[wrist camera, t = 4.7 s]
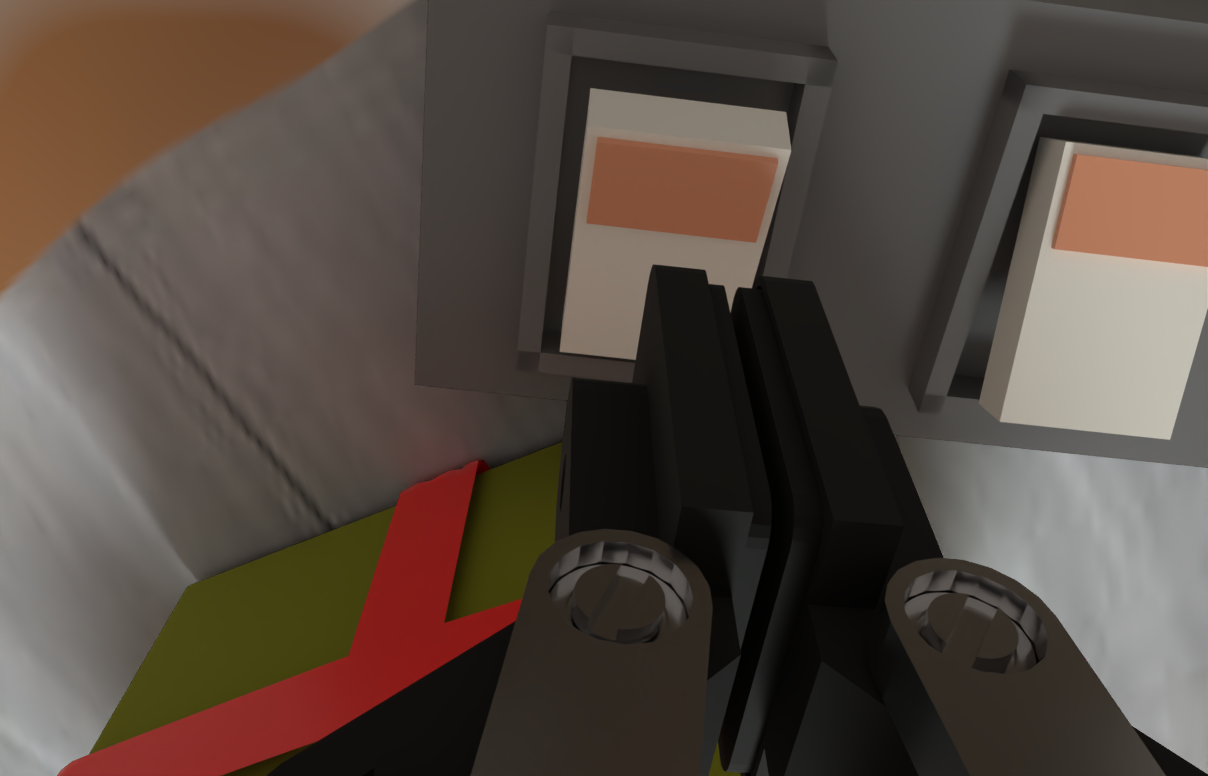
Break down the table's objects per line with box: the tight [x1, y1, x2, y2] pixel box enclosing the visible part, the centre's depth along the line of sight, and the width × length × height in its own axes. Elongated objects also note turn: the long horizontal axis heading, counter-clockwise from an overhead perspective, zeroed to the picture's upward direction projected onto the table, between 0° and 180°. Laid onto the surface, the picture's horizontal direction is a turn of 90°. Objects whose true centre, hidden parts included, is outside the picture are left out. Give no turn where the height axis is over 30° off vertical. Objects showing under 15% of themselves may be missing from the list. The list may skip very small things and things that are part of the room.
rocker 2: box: [979, 137, 1208, 440], centre depth 22 cm, size 4×6×1 cm, turn 173°
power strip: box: [415, 0, 1208, 468], centre depth 24 cm, size 28×10×4 cm, turn 83°
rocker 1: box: [560, 88, 791, 360], centre depth 21 cm, size 4×6×1 cm, turn 173°
